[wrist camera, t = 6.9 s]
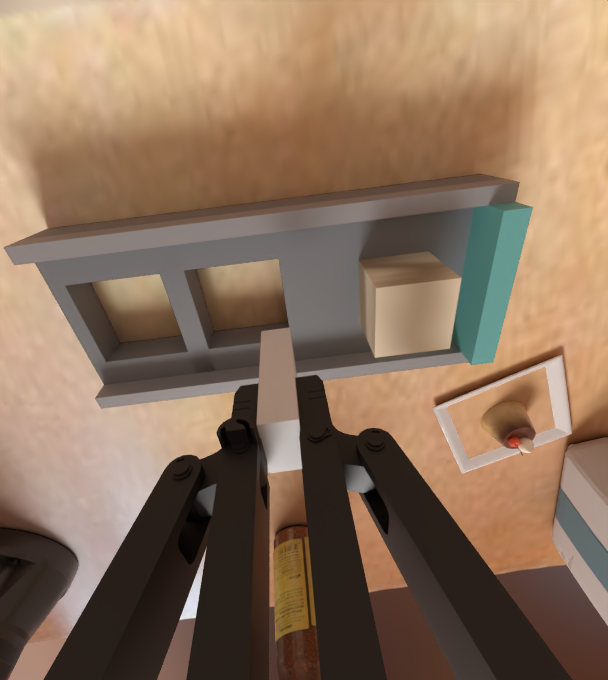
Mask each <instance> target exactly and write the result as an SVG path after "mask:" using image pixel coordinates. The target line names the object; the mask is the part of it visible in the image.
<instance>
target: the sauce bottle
mask: <svg viewBox="0 0 608 680" xmlns="http://www.w3.org/2000/svg"><path fill="white" fill-rule="evenodd" d="M273 559H274V598H275V637H276V650H277V663H278V678H279V680H321V675H320V664H319V653H318V641H317V630H316V619H315V608H314V597H313V585H312V574H311V563H310V552H309V540H308V529H307V527H305V526H293V527H288V528H286V529H284V530H282V531H280V532H279V533H278V534H277V535H276V537H275V540H274V553H273Z"/></svg>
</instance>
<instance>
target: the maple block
mask: <svg viewBox="0 0 608 680" xmlns="http://www.w3.org/2000/svg"><path fill="white" fill-rule="evenodd" d="M358 263H359V322H360V324H361V326H362V329H363V331H364V333H365V336H366V338H367V341H368V343H369V345H370V348H371V350H372V352H373V355H374V357H375V358H377V357H385V356H394V355H402V354H410V353H418V352H427V351H435V350H443V349H450V344H451V338H452V332H453V326H454V320H455V314H456V308H457V302H458V296H459V291H460V285H461V279H462V278H461V277H460V276H459V275H457V274H456V273H455V272H454V271H452V270H451V269H450V268H449V267H447V266H446V265H445V264H444V263H442V262H441V261H440V260H439V259H437V258H436V257H435V256H434V255H432V254H431V253H430V252H429V251H427V252H419V253H411V254H402V255H394V256H386V257H378V258H369V259H361V260H358Z"/></svg>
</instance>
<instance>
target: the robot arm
mask: <svg viewBox="0 0 608 680" xmlns="http://www.w3.org/2000/svg"><path fill="white" fill-rule="evenodd" d="M217 436H218V438H219V441H220V444H221V447H222V449H220V450H219V451H218V452H216V453H214V454H212V455H210V456H208V457H205V458H203V459H201V460H200V459H199V458H198V457H197V456H193V455H183V456H181V457H178V458H176V459H175V460H173V461H172V462H171V463H170V464H169V465H168V466H167V467H166V469H165V470H164V472H163V473H162V475H161V477H160V479H159V480H158V482H157V484H156V486H155V487H154V489H153V491H152V493H151V494H150V496H149V498H148V499H147V501H146V503H145V505H144V506H143V508H142V510H141V512H140V513H139V515H138V517H137V519H136V520H135V522H134V524H133V525H132V527H131V529H130V531H129V532H128V534H127V536H126V538H125V539H124V541H123V543H122V545H121V546H120V548H119V550H118V551H117V553H116V555H115V557H114V558H113V560H112V562H111V564H110V565H109V567H108V569H107V571H106V572H105V574H104V576H103V577H102V579H101V581H100V583H99V584H98V586H97V588H96V590H95V591H94V593H93V595H92V597H91V598H90V600H89V602H88V603H87V605H86V607H85V609H84V610H83V612H82V614H81V616H80V617H79V619H78V621H77V623H76V624H75V626H74V628H73V629H72V631H71V633H70V635H69V636H68V638H67V640H66V642H65V643H64V645H63V647H62V649H61V650H60V652H59V654H58V655H57V657H56V659H55V661H54V663H53V664H52V666H51V668H50V670H49V671H48V673H47V675H46V676H45V678H44V680H157V678H158V675H159V673H160V670H161V667H162V665H163V662H164V659H165V656H166V654H167V651H168V648H169V646H170V643H171V640H172V638H173V635H174V632H175V630H176V627H177V624H178V622H179V619H180V616H181V614H182V611H183V608H184V606H185V603H186V600H187V598H188V595H189V592H190V590H191V587H192V584H193V581H194V579H195V576H196V573H197V571H198V568H199V565H200V563H201V560H202V557H203V555H204V552H205V549H206V547H207V549H206V556H205V562H204V569H203V575H202V582H201V588H200V595H199V601H198V608H197V614H196V621H195V627H194V635H193V640H192V647H191V653H190V660H189V666H188V673H187V680H269V494H270V487H269V482H268V478H267V467H268V471H269V473H276V472H283V471H291V470H298V469H302V473H303V484H304V496H305V507H306V518H307V529H308V540H309V552H310V563H311V574H312V585H313V597H314V608H315V619H316V630H317V641H318V653H319V664H320V675H321V680H387V678H386V673H385V668H384V664H383V659H382V655H381V649H380V645H379V640H378V635H377V630H376V625H375V621H374V616H373V612H372V606H371V602H370V597H369V592H368V587H367V583H366V578H365V573H364V568H363V564H362V559H361V554H360V549H359V545H358V540H357V535H356V530H355V526H354V521H353V516H352V511H351V507H350V502H349V497H348V492H347V490H349V491H354V492H359V494H360V496H361V498H362V500H363V502H364V504H365V505H366V507H367V509H368V511H369V513H370V515H371V517H372V519H373V521H374V523H375V524H376V526H377V528H378V530H379V532H380V534H381V536H382V538H383V540H384V542H385V544H386V545H387V547H388V549H389V551H390V553H391V555H392V557H393V559H394V561H395V563H396V564H397V566H398V568H399V570H400V572H401V574H402V576H403V578H404V580H405V582H406V584H407V585H408V587H409V589H410V591H411V593H412V595H413V597H414V599H415V601H416V603H417V604H418V606H419V608H420V610H421V612H422V614H423V616H424V618H425V620H426V622H427V624H428V625H429V627H430V629H431V631H432V633H433V635H434V637H435V639H436V641H437V642H438V644H439V646H440V648H441V650H442V652H443V654H444V656H445V658H446V660H447V662H448V663H449V665H450V667H451V669H452V671H453V673H454V675H455V677H456V679H457V680H572V679H571V677H570V676H569V675H568V673H567V672H566V670H565V669H564V668H563V667H562V665H561V664H560V663H559V661H558V660H557V658H556V657H555V656H554V654H553V653H552V652H551V650H550V649H549V648H548V646H547V645H546V643H545V642H544V641H543V639H542V638H541V637H540V635H539V634H538V633H537V632H536V630H535V629H534V627H533V626H532V625H531V623H530V622H529V621H528V619H527V618H526V617H525V615H524V614H523V612H522V611H521V610H520V609H519V607H518V606H517V604H516V603H515V602H514V600H513V599H512V598H511V597H510V595H509V594H508V592H507V591H506V590H505V588H504V587H503V586H502V584H501V583H500V581H499V580H498V579H497V578H496V576H495V575H494V573H493V572H492V571H491V569H490V568H489V567H488V565H487V564H486V563H485V561H484V560H483V559H482V557H481V556H480V555H479V553H478V552H477V550H476V549H475V548H474V546H473V545H472V544H471V542H470V541H469V540H468V538H467V537H466V536H465V534H464V533H463V532H462V530H461V529H460V528H459V526H458V525H457V523H456V522H455V521H454V519H453V518H452V517H451V515H450V514H449V513H448V511H447V510H446V509H445V507H444V506H443V505H442V503H441V502H440V501H439V499H438V498H437V497H436V495H435V494H434V492H433V491H432V490H431V488H430V487H429V486H428V484H427V483H426V482H425V480H424V479H423V478H422V476H421V475H420V474H419V472H418V471H417V470H416V468H415V467H414V466H413V464H412V463H411V461H410V460H409V459H408V457H407V456H406V455H405V453H404V452H403V451H402V449H401V448H400V447H399V445H398V444H397V443H396V441H395V440H394V439H393V437H392V436H391V435H390V434H389V433H388V432H386V431H384V430H382V429H378V428H370V429H366V430H364V431H362V432H361V433H360V434H359V435H358V436H355V435H348V434H344V433H342V432H340V431H338V430H337V429H336V428H335V427H334V426H333V424H332V422H331V418H330V413H329V408H328V403H327V399H326V394H325V389H324V384H323V381H322V380H321V379H320V378H319V376H318V375H311V376H303V377H297V373H296V365H295V359H294V352H293V345H292V339H291V332H290V327H289V328H282V329H274V330H267V331H261V347H260V366H259V383H258V384H251V385H243V386H240V387H239V389H238V390H237V392H236V393H235V396H234V404H233V411H232V417H231V418H230V419H228V420H227V421H225V422H223V423H222V424H221V425H220V427H219V428H218V430H217ZM77 570H78V562H77V559H76V558H75V556H74V555H73V554H72V553H71V552H70V551H69V550H67V549H66V548H65V547H63V546H62V545H60V544H58V543H56V542H54V541H52V540H49V539H47V538H44V537H41V536H38V535H35V534H31V533H27V532H23V531H17V530H10V529H0V680H8V679H9V677H10V675H11V673H12V671H13V669H14V667H15V665H16V663H17V661H18V659H19V657H20V654H21V652H22V651H23V649H24V647H25V645H26V644H27V642H28V641H29V639H30V638H31V637H32V636H33V634H34V633H35V632H36V630H37V629H38V628H39V626H40V625H41V624H42V622H43V621H44V620H45V619H46V617H47V616H48V614H49V613H50V612H51V610H52V609H53V608H54V606H55V605H56V603H57V602H58V601H59V600H60V599H61V598H62V597H63V596H64V595H65V593H66V592H67V591H68V589H69V588H70V585H71V583H72V581H73V579H74V577H75V575H76V572H77Z"/></svg>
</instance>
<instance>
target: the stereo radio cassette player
mask: <svg viewBox="0 0 608 680" xmlns="http://www.w3.org/2000/svg"><path fill="white" fill-rule="evenodd" d="M552 540H553V542H554V544H555V546H556V548H557V550H558V552H559V553H560V555H561V556H562V558H563V560H564V561H565V563H566V564H567V566H568V567H569V569H570V571H571V572H572V574H573V575H574V577H575V578H576V580H577V581H578V583H579V584H580V586H581V587H582V589H583V590H584V592H585V593H586V595H587V596H588V598H589V599H590V601H591V602H592V604H593V605H594V607H595V608H596V609H597V611H598V612H599V614H600V615H601V617H602V618H603V619H604V621H605V622H606V623H607V625H608V437H605V438H600V439H596V440H591V441H587V442H582V443H578V444H570V445H569V446H568V448H567V451H566V453H565V459H564V465H563V471H562V477H561V483H560V489H559V495H558V501H557V507H556V513H555V519H554V525H553V531H552Z"/></svg>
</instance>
